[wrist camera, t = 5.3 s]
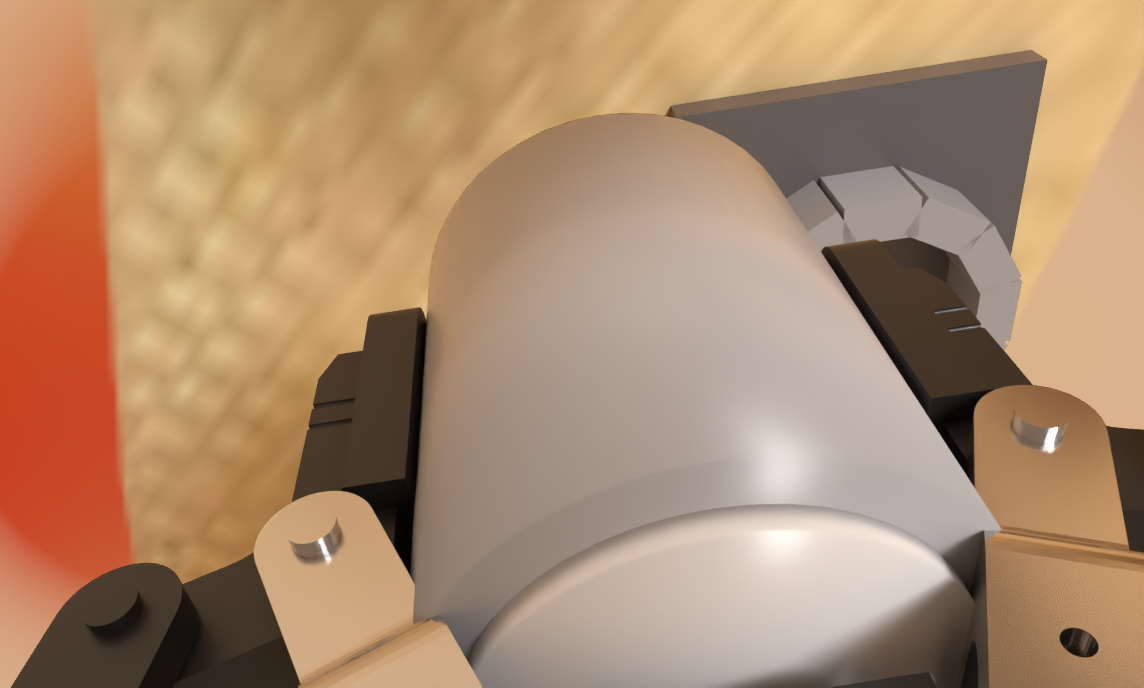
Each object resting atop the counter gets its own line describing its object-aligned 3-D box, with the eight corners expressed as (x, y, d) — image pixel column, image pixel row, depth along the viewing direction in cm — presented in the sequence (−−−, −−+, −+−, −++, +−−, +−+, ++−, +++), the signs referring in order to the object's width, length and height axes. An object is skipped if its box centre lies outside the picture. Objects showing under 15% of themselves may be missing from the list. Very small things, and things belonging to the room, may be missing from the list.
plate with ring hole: (670, 105, 30) (692, 146, 27) (1031, 50, 30) (1089, 84, 27) (692, 462, 39) (709, 519, 36) (966, 418, 39) (1005, 472, 36)
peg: (389, 146, 12) (316, 552, 6) (805, 83, 12) (1116, 428, 6) (467, 455, 16) (468, 909, 10) (795, 406, 16) (992, 825, 10)
